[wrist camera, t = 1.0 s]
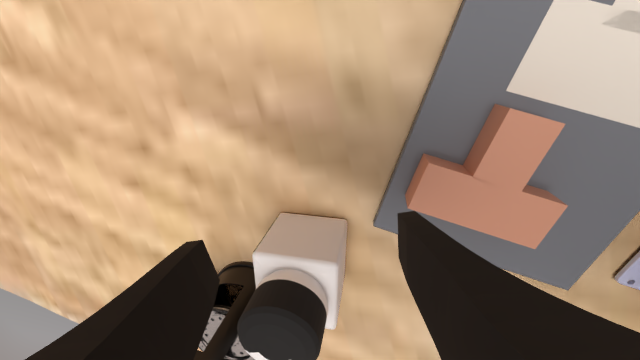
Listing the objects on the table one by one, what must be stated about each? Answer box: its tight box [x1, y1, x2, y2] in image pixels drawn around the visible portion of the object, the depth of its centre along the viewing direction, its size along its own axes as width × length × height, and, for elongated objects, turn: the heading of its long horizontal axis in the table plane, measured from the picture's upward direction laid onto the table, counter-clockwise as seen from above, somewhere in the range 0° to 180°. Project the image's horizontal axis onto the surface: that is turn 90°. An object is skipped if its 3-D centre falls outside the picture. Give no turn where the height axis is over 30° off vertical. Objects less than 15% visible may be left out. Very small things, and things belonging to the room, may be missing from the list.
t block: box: [405, 104, 568, 249], centre depth 20 cm, size 10×9×2 cm
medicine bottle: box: [237, 213, 347, 360], centre depth 23 cm, size 7×7×12 cm
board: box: [373, 0, 640, 290], centre depth 20 cm, size 18×26×1 cm
